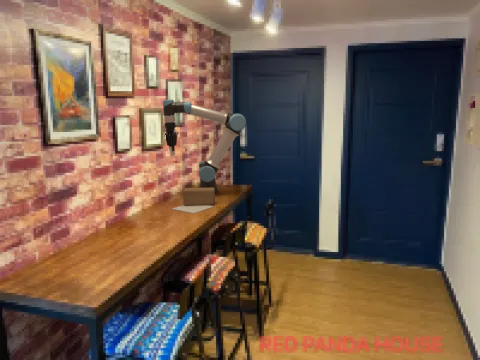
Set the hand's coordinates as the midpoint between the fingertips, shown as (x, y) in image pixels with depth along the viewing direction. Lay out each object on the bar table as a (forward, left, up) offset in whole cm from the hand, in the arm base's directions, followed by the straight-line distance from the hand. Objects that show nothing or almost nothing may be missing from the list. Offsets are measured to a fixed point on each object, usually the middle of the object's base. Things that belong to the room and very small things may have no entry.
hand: (172, 155), depth 263 cm
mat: (+16, +34, -30) cm, 48 cm away
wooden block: (+13, +23, -25) cm, 36 cm away
